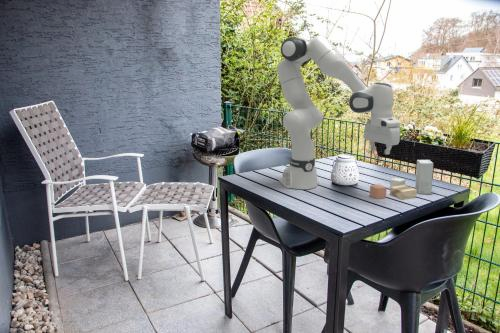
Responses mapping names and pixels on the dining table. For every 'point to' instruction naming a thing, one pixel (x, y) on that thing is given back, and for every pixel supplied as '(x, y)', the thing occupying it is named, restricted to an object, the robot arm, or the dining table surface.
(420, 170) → the skincare box
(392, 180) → the offwhite cube
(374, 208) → the dining table surface
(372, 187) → the terracotta cube
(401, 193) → the beech base
